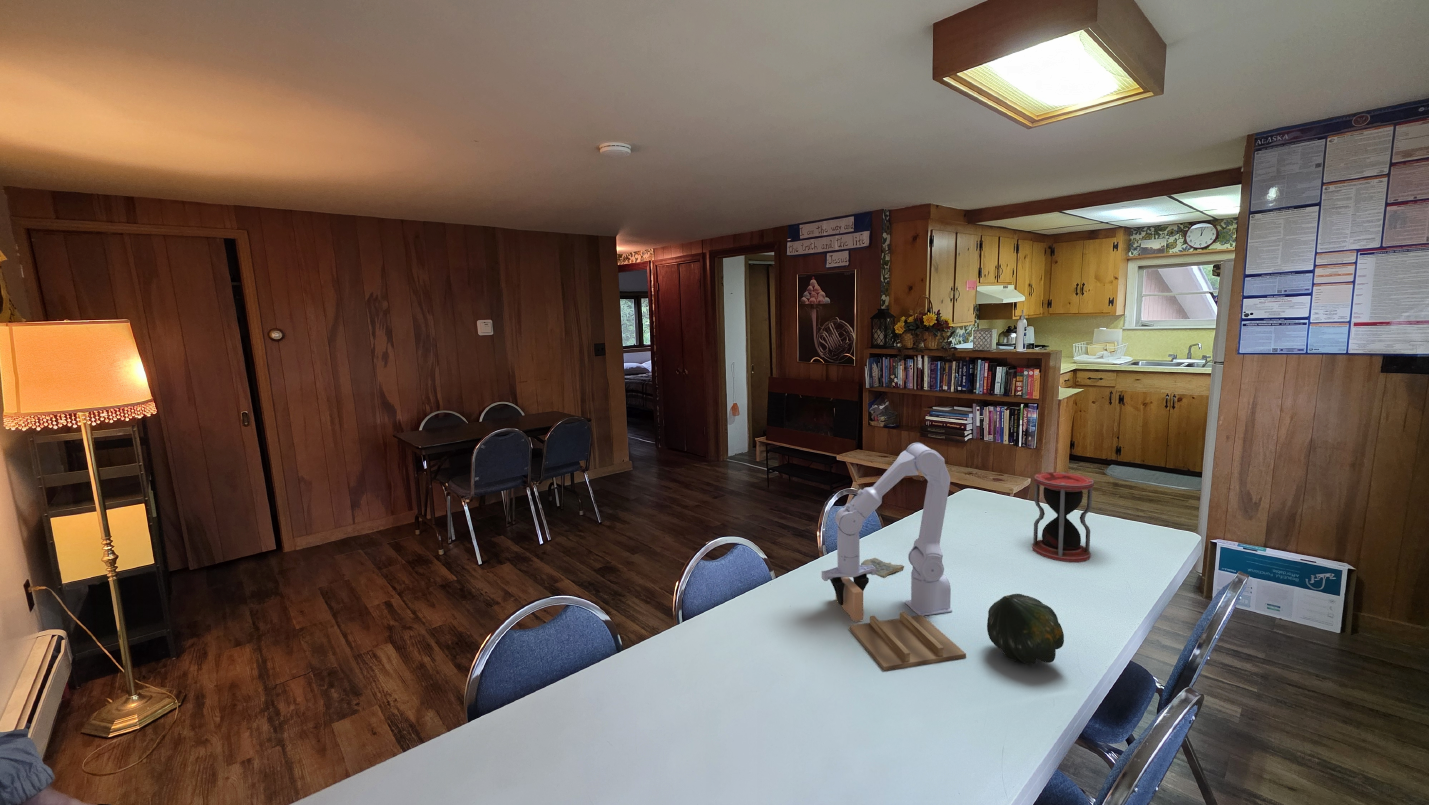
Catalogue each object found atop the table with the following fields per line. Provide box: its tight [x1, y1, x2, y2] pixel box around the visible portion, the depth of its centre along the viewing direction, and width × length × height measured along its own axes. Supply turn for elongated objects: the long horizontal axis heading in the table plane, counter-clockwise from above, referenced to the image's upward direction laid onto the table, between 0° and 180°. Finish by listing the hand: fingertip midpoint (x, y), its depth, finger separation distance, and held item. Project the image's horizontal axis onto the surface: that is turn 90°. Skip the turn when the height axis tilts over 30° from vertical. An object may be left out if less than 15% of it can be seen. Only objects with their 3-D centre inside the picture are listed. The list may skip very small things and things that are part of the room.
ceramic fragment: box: [860, 557, 905, 579], centre depth 174 cm, size 11×3×10 cm
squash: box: [986, 593, 1065, 665], centre depth 125 cm, size 14×15×15 cm
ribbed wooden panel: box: [848, 611, 967, 672], centre depth 133 cm, size 20×18×3 cm
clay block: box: [835, 577, 864, 622], centre depth 149 cm, size 2×12×8 cm, turn 11°
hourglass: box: [1031, 471, 1095, 564], centre depth 180 cm, size 16×16×25 cm
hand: (848, 602), depth 150 cm, fingers open, 4 cm apart
